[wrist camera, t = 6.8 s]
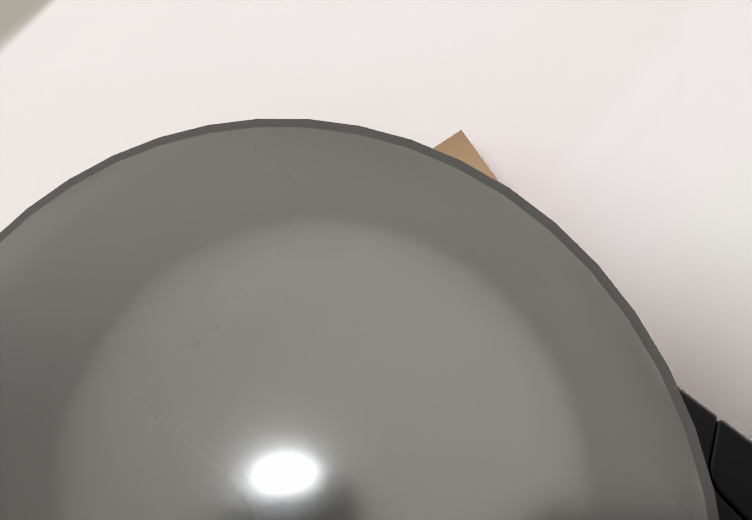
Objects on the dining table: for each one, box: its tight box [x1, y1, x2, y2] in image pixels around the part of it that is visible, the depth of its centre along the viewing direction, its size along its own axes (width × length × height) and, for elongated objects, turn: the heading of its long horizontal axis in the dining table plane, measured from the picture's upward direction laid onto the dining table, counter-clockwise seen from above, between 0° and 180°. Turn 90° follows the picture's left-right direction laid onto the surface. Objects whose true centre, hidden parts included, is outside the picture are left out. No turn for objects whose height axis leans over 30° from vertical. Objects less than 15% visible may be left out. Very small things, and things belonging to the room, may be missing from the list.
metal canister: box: [0, 119, 719, 520], centre depth 9 cm, size 5×5×13 cm
